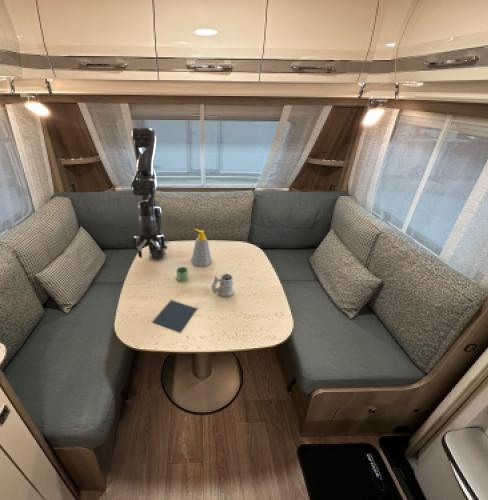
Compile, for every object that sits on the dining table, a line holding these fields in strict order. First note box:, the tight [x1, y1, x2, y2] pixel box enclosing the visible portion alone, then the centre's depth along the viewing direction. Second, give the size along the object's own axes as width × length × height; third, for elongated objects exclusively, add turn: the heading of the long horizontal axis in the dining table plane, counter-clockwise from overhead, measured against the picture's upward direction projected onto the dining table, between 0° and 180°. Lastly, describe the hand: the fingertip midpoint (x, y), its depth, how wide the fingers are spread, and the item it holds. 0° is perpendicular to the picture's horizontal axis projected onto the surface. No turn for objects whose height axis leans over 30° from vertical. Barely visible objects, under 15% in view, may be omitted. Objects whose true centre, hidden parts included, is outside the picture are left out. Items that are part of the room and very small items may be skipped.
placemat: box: [152, 300, 197, 333], centre depth 124 cm, size 16×14×1 cm
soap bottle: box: [191, 228, 212, 267], centre depth 160 cm, size 12×12×20 cm
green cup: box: [175, 266, 189, 282], centre depth 147 cm, size 6×6×6 cm
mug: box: [211, 273, 234, 298], centre depth 135 cm, size 8×12×12 cm, turn 110°
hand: (150, 256), depth 126 cm, fingers open, 8 cm apart
